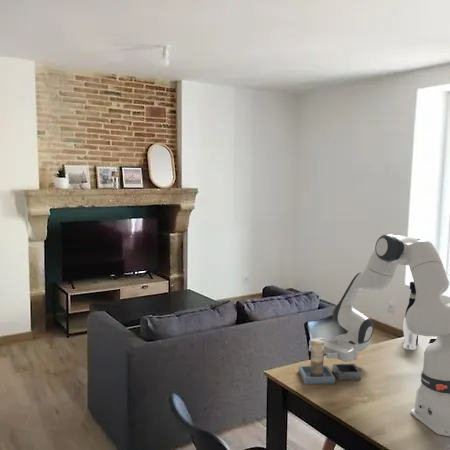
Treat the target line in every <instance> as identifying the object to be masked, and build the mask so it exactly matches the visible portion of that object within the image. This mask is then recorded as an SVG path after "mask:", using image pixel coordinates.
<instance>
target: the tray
mask: <svg viewBox="0 0 450 450" xmlns="http://www.w3.org/2000/svg"><path fill="white" fill-rule="evenodd" d="M310 367H311V365H298V374H299V375H300V377H301V379H302V381H303V383H304V385H327V384H328V385H330V384H331V385H335V384H336V375H335V374H334V372H333V371H331V369H330V368H329V366H328V365H323V377H311V376H310Z"/></svg>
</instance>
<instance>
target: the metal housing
mask: <svg viewBox="0 0 450 450" xmlns="http://www.w3.org/2000/svg"><path fill="white" fill-rule="evenodd" d="M332 373H333V375H334V376H335V378H337V379H338V381H361V379H362V372H361V370H360V369H359V368H358V367H357V365H356V364H355V363H333V364H332Z"/></svg>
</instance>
